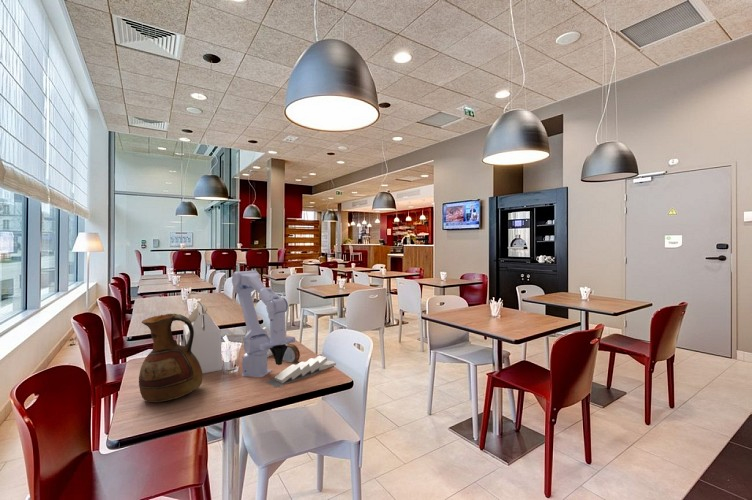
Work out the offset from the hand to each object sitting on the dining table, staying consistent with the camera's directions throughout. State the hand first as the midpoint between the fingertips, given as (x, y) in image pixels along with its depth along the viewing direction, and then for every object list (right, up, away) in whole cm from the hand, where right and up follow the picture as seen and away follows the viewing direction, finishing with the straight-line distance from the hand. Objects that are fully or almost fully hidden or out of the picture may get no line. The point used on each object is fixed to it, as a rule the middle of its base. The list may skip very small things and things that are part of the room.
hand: (278, 364), depth 141 cm
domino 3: (+6, -6, +7) cm, 11 cm away
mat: (+5, -7, +6) cm, 11 cm away
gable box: (-40, -8, +22) cm, 47 cm away
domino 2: (+3, -6, +3) cm, 7 cm away
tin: (-4, -7, +26) cm, 27 cm away
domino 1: (0, -6, 0) cm, 6 cm away
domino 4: (+9, -6, +10) cm, 15 cm away
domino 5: (+12, -6, +13) cm, 19 cm away
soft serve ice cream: (-18, -7, +39) cm, 43 cm away
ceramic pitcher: (-36, -9, -9) cm, 38 cm away
